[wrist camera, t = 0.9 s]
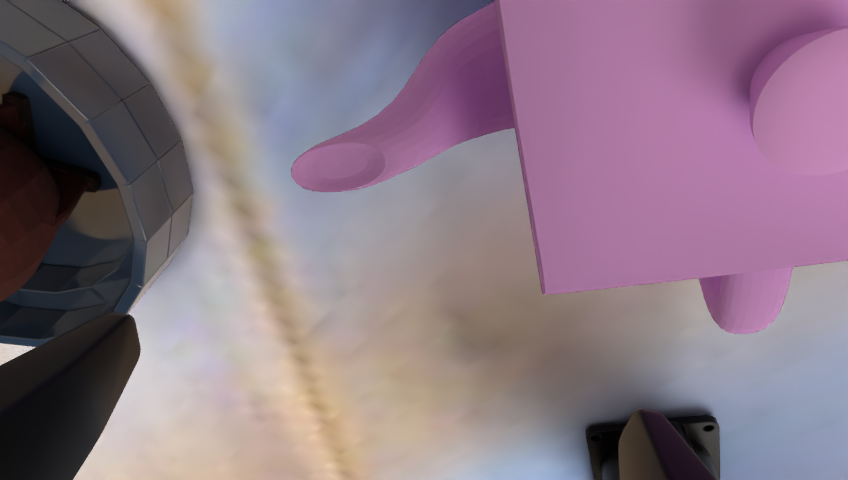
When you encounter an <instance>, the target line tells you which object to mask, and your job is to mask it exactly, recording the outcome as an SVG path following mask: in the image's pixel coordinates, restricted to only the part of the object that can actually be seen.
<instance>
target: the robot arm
mask: <svg viewBox="0 0 848 480" xmlns="http://www.w3.org/2000/svg"><path fill="white" fill-rule="evenodd" d="M139 356H140V343H139V338H138V333H137V328H136V323H135V320H134V318H133V317H132V316H131V315H128V314H123V313H118V312H106V313H104V314H101V315H100V316H98V317H96V318H94V319H92V320H90V321H88V322H86V323H84V324H82V325H80V326H78V327H76V328H74V329H72V330H70V331H68V332H66V333H64V334H62V335H60V336H58V337H56V338H54V339H52V340H50V341H48V342H46V343H44V344H42V345H40V346H38V347H36V348H34V349H32V350H30V351H28V352H26V353H24V354H22V355H20V356H18V357H16V358H14V359H12V360H10V361H8V362H6V363H4V364H2V365H0V480H73V479H74V477H75V475H76V474H77V472H78V471H79V469H80V468H81V466H82V464H83V463H84V461H85V460H86V458H87V457H88V455H89V454H90V452H91V450H92V449H93V447H94V445H95V444H96V442H97V440H98V439H99V437H100V435H101V433H102V432H103V430H104V428H105V426H106V424H107V422H108V420H109V418H110V416H111V414H112V412H113V410H114V408H115V406H116V404H117V402H118V400H119V398H120V396H121V394H122V392H123V390H124V388H125V386H126V384H127V382H128V380H129V378H130V376H131V374H132V372H133V370H134V368H135V366H136V364H137V362H138V359H139ZM585 433H586V439H587V444H588V449H589V454H590V459H591V464H592V469H593V474H594V479H595V480H720V446H719V425H718V423H717V420H716V418H715V417H713V416H709V415H705V416H694V417H684V418H673V419H666V417H665V416H664V415H663V414H661V413H660V412H657V411H652V410H646V409H637V410H635V411H634V412H633V414H632V416H631V418H630V420H629V421H628V423H619V424H609V425H598V426H591V427H589V428H587V429H586V432H585Z"/></svg>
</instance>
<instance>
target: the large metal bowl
mask: <svg viewBox="0 0 848 480" xmlns="http://www.w3.org/2000/svg"><path fill="white" fill-rule="evenodd" d="M12 91H15V92H18V93H22V94H25V95H26V96H27V97H29V101H30V106H31V112H32V119H33V126H34V133H35V140H36V146H37V151H38V152H39V153H40V154H41V155H42V156H45V157H48V158H51V159H54V160H57V161H60V162H64V163H67V164H71V165H74V166H77V167H81V168H84V169H88V170H91V171H93V172H96V173H99V175H100V177H101V187H100V188H99V189H98V190H97V191H96V193H93V192H88V191H85V192H84V193H83V195H82V196H81V198H80V200H79V202H78V204H77V205H76V207H75V209H74V210H73V212H72V213H71V215H70V216H69V218H68V219H67V220H66V221H65V222H64V223H63V224H62V225H61V226H60V227H59V228H58V230H57V233H56V236H55V239H54V241H53V242H52V244H51V246H50V247H49V249H48V251H47V253H46V254H45V256H44V258H43V260H42V261H41V263H40V265H39V267H38V269H37V270H36V272H35V273H34V274H33V276H32V277H31V278H30V279H29V280H28V281H27V282H26V283H25V285H24V286H23V287H22V288H20V289H19V290H17V291H16V292H15V293H13V294H12V295H10V296H9V297H8V298H6V299H5V300H3V301H1V302H0V343H3V344H13V345H22V346H32V347H38V346H40V345H42V344H44V343H46V342H48V341H50V340H52V339H54V338H56V337H58V336H60V335H62V334H64V333H66V332H68V331H70V330H72V329H74V328H76V327H78V326H80V325H82V324H84V323H86V322H88V321H90V320H92V319H94V318H96V317H98V316H100V315H101V314H104V313H106V312H118V313H123V314H129V312H130V311H131V310H132V309H133V308H134V306H135V305H136V304H137V303H138V301H139V300H140V299H141V298H142V297H143V295H144V294H145V293H146V292H147V290H148V289H149V288H150V287H151V286H152V285H153V283H154V282H155V281H156V280H157V279H158V277H159V276H160V275H161V274H162V272H163V271H164V270H165V269H166V268H167V266H168V265H169V264H170V262H171V260H172V259H173V257H174V256H175V254H176V253H177V251H178V249H179V248H180V246H181V245H182V243H183V242H184V240H185V238H186V237H187V234H188V231H189V223H190V216H191V208H192V200H193V193H194V192H193V187H192V182H191V178H190V173H189V169H188V165H187V160H186V156H185V152H184V147H183V143H182V140H181V138H180V136H179V134H178V132H177V130H176V129H175V127H174V125H173V123H172V121H171V120H170V118H169V116H168V114H167V112H166V110H165V109H164V107H163V105H162V103H161V101H160V100H159V98H158V96H157V94H156V92H155V90H154V89H153V87H152V85H151V84H149V81H148V80H147V79H146V78H145V77H144V76H143V74H142V73H141V72H140V71H139V70H138V69H137V68H136V67H135V66H134V65H133V63H132V62H131V61H130V60H129V59H128V58H127V57H126V56H125V55H124V54H123V52H122V51H121V50H120V49H119V48H118V47H117V46H116V45H115V44H114V43H113V41H112V40H111V39H110V38H109V37H108V36H107V35H106V34H105V33H104V32H103V31H102V30H100V27H98V26H97V25H95V24H94V23H93V22H91V21H90V20H88V19H87V18H85V17H84V16H83V15H81V14H80V13H78V12H77V11H75V10H74V9H73V8H71V7H70V6H68V5H67V4H65V3H64V2H63V1H61V0H0V104H2V94H4V93H9V92H12Z"/></svg>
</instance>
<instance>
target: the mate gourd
mask: <svg viewBox="0 0 848 480" xmlns="http://www.w3.org/2000/svg"><path fill="white" fill-rule="evenodd" d="M100 187H101V177H100V175H99V173H96V172H93V171H91V170H88V169H84V168H81V167H77V166H74V165H71V164H67V163H64V162H60V161H57V160H54V159H51V158H48V157H45V156H42V155H41V154H40V153H39V152H38V151H37V146H36V140H35V133H34V126H33V119H32V112H31V106H30V101H29V97H27V96H26V95H25V94H22V93H18V92H15V91H12V92H9V93H4V94H2V104H0V302H1V301H3V300H5V299H6V298H8V297H9V296H10V295H12V294H13V293H15V292H16V291H17V290H19V289H20V288H22V287H23V286H24V285H25V283H26V282H27V281H28V280H29V279H30V278H31V277H32V276H33V274H34V273H35V272H36V270H37V269H38V267H39V265H40V263H41V261H42V260H43V258H44V256H45V254H46V253H47V251H48V249H49V247H50V246H51V244H52V242H53V241H54V239H55V236H56V233H57V230H58V228H59V227H60V226H61V225H62V224H63V223H64V222H65V221H66V220H67V219H68V218H69V216H70V215H71V213H72V212H73V210H74V209H75V207H76V205H77V204H78V202H79V200H80V198H81V196H82V195H83V193H84V192H85V191H88V192H93V193H96V191H97V190H98V189H99V188H100Z"/></svg>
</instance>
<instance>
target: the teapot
mask: <svg viewBox="0 0 848 480" xmlns="http://www.w3.org/2000/svg"><path fill="white" fill-rule="evenodd" d="M511 128H515V131H516V137H517V143H518V150H519V156H520V162H521V168H522V174H523V180H524V186H525V192H526V198H527V204H528V210H529V216H530V223H531V229H532V235H533V241H534V247H535V253H536V259H537V265H538V271H539V277H540V283H541V289H542V294H560V293H570V292H580V291H590V290H599V289H608V288H617V287H626V286H635V285H644V284H653V283H661V282H670V281H679V280H687V279H696V278H699V281H700V285H701V288H702V292H703V295H704V299H705V302H706V304H707V307H708V309H709V312H710V314H711V316H712V318H713V320H714V321H715V322H716V323H717V324H718V325H719V326H720V327H721V328H722V329H723V330H725V331H727V332H730V333H734V334H748V333H753V332H758V331H760V330H762V329H764V328H766V327H767V326H768V325H769V324H771V323H772V322H773V320H774V319H775V318H776V316H777V315H778V313H779V312H780V310H781V307H782V305H783V302H784V299H785V296H786V293H787V289H788V286H789V282H790V277H791V273H792V269H793V267H798V266H807V265H815V264H823V263H831V262H839V261H848V0H494V2H493V3H491V4H489V5H487V6H485V7H483V8H482V9H480V10H478V11H476V12H474V13H472V14H471V15H469V16H467V17H465V18H464V19H462V20H460V21H458V22H457V23H456V24H455V25H453V26H452V27H451V28H449V29H448V30H447V31H446V32H444V33H443V34H442V36H441V37H440V38H439V39H438V40H437V41H436V42H435V43H434V44H433V45H432V47H431V48H430V49H429V51H428V52H427V53H426V55H425V56H424V58H423V59H422V60H421V62H420V63H419V65H418V66H417V68H416V70H415V71H414V73H413V74H412V76H411V77H410V79H409V80H408V82H407V83H406V85H405V86H404V88H403V89H402V90H401V92H400V93H399V94H398V95H397V96H396V98H395V99H394V100H393V101H392V102H391V103H390V104H389V105H388V106H387V107H386V108H384V109H383V110H382V111H381V112H380V113H379V114H378V115H376V116H375V117H373V118H372V119H370V120H368V121H367V122H365V123H364V124H362V125H361V126H359V127H357V128H354V129H352V130H350V131H348V132H345V133H343V134H341V135H339V136H336V137H334V138H331V139H329V140H327V141H324V142H322V143H320V144H318V145H316V146H314V147H312V148H311V149H309V150H308V151H306V152H304V153H303V154H302V155H300V156H299V158H298V159H297V160H296V161H295V162H294V163H293V166H292V168H291V175H292V178H293V180H294V181H295V182H296V184H298V185H299V186H301V187H303V188H305V189H308V190H312V191H319V192H341V191H349V190H356V189H360V188H364V187H368V186H371V185H374V184H377V183H380V182H382V181H384V180H387V179H389V178H391V177H394V176H396V175H398V174H400V173H403V172H405V171H407V170H409V169H411V168H413V167H415V166H417V165H419V164H421V163H423V162H425V161H427V160H429V159H431V158H432V157H434V156H436V155H438V154H439V153H441V152H443V151H445V150H447V149H449V148H451V147H453V146H455V145H457V144H459V143H462V142H464V141H467V140H470V139H473V138H476V137H479V136H482V135H486V134H489V133H493V132H497V131H501V130H505V129H511Z"/></svg>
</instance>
